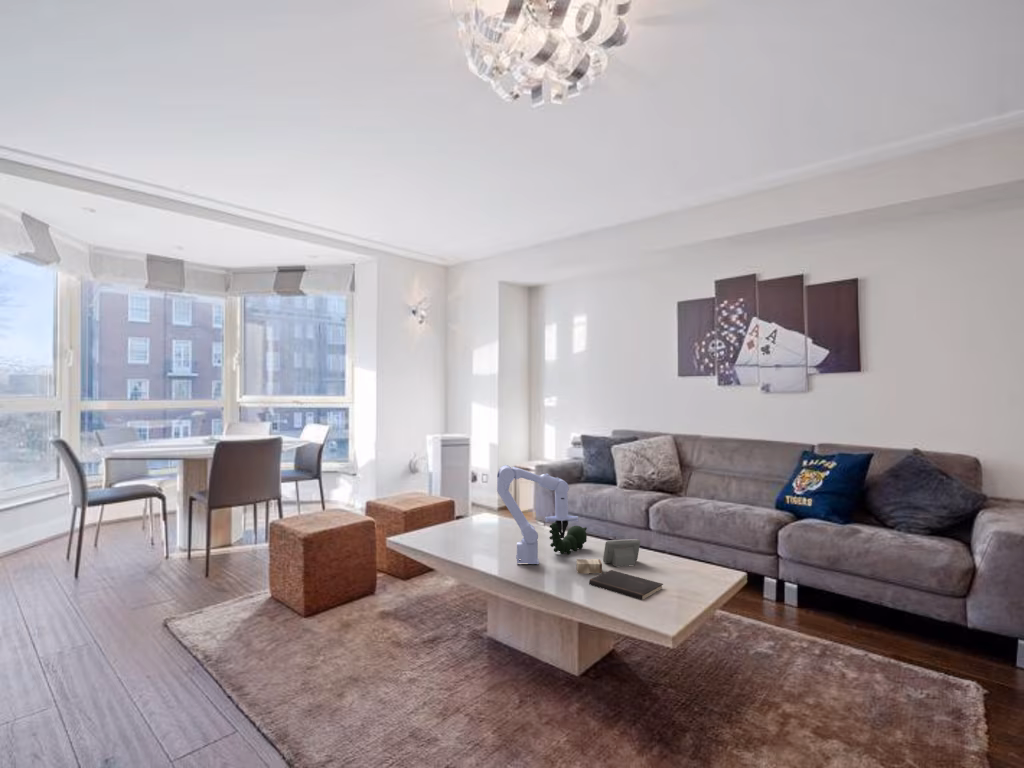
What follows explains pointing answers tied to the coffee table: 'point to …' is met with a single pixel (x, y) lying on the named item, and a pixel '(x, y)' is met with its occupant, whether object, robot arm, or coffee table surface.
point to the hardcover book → (626, 584)
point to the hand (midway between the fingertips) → (562, 537)
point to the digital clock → (621, 552)
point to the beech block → (589, 566)
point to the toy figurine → (568, 539)
